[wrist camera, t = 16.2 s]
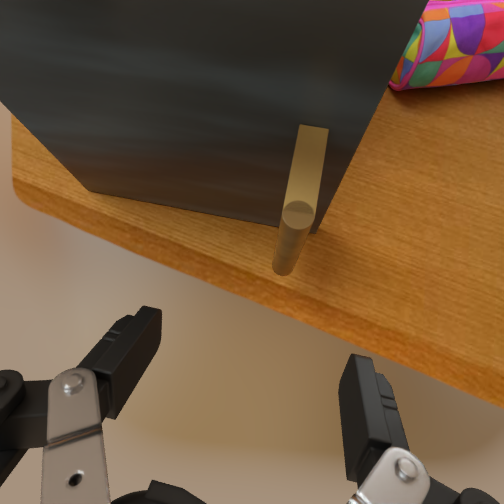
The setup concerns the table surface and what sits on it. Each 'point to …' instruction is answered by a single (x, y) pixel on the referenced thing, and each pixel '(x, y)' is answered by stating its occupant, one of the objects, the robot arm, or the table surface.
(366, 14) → the door
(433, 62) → the pencil case
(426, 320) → the table surface
